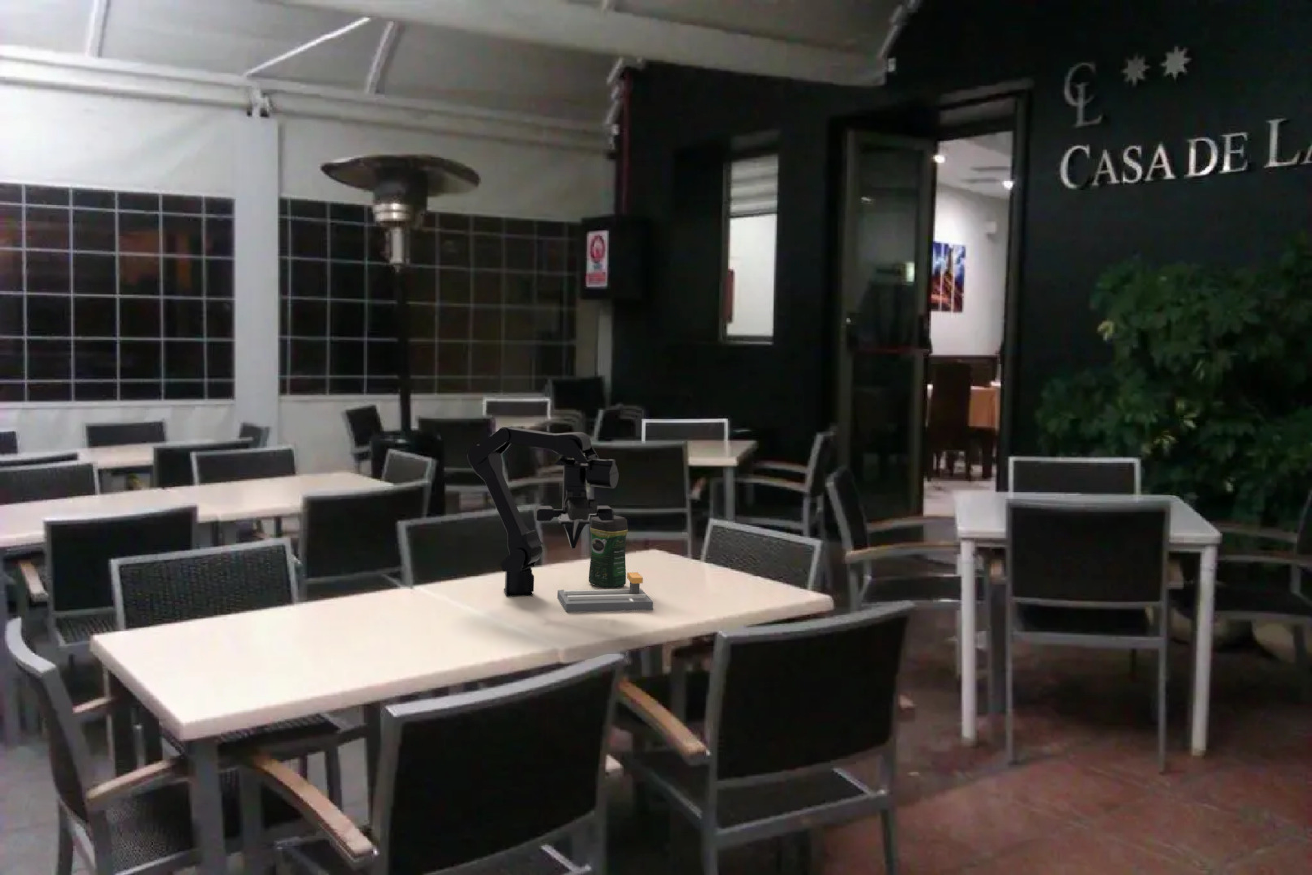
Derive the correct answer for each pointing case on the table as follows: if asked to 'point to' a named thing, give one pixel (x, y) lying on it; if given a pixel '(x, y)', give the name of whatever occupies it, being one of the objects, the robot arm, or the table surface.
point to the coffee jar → (608, 552)
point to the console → (603, 600)
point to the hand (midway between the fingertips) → (572, 548)
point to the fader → (634, 582)
